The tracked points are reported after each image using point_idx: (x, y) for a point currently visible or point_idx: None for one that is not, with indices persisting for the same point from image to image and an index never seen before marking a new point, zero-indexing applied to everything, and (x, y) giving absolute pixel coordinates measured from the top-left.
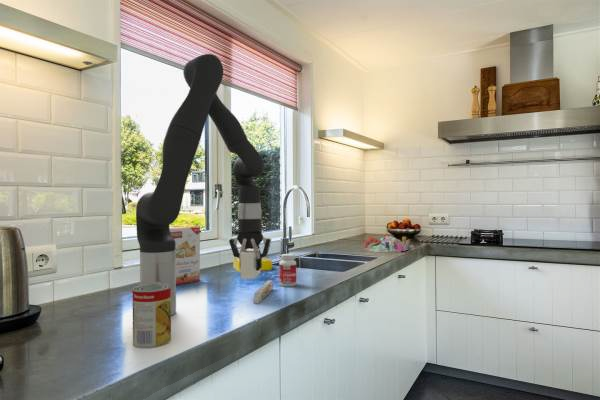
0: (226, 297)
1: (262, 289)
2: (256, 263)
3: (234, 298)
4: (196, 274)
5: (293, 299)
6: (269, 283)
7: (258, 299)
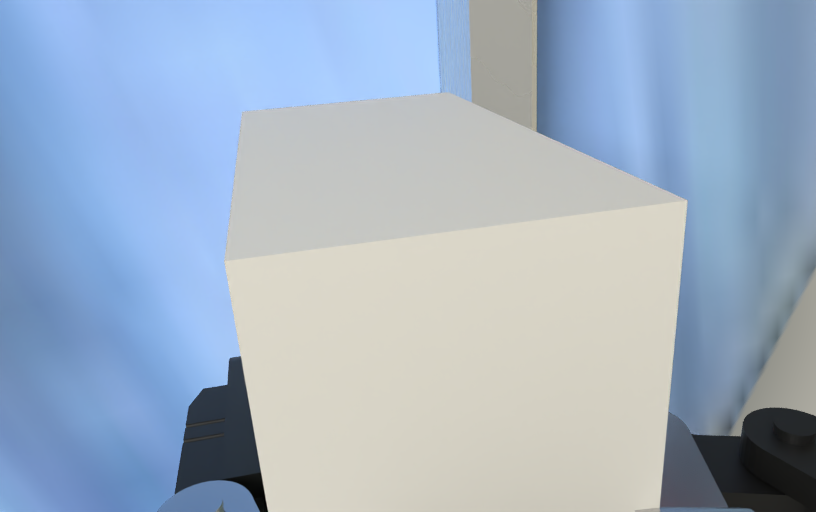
0: (117, 383)
1: None
2: None
3: None
4: None
5: (740, 295)
6: (530, 80)
7: None
